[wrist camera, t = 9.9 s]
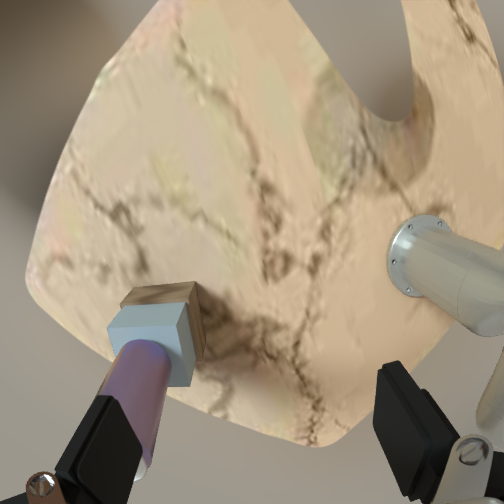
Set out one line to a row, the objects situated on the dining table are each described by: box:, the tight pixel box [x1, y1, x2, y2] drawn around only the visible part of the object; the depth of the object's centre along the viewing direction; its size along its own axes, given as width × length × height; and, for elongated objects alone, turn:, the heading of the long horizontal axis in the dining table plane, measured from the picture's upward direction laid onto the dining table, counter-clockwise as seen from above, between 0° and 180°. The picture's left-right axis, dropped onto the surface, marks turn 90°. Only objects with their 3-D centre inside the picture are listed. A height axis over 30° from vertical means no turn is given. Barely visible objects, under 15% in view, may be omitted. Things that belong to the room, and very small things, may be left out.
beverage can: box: [92, 339, 172, 482], centre depth 24 cm, size 6×6×15 cm
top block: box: [107, 302, 196, 387], centre depth 34 cm, size 8×8×6 cm
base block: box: [120, 281, 206, 362], centre depth 40 cm, size 9×9×6 cm
